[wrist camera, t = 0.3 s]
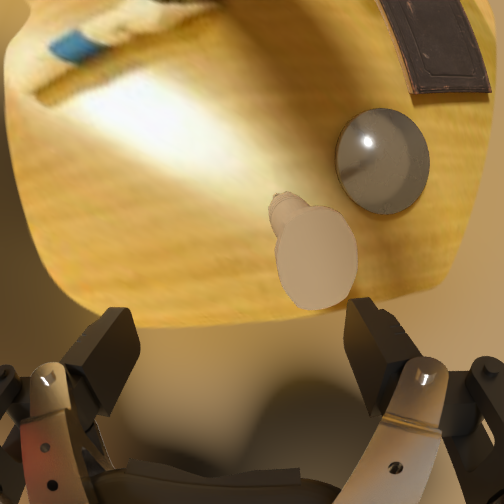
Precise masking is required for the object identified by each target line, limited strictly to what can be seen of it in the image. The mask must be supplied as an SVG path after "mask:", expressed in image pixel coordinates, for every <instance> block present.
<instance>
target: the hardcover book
mask: <svg viewBox="0 0 504 504" xmlns="http://www.w3.org/2000/svg"><path fill="white" fill-rule="evenodd" d="M375 1H376V3H377V6H378V8H379V10H380V12H381V14H382V17H383V19H384V21H385V24H386V26H387V29H388V31H389V34H390V36H391V39H392V41H393V44H394V47H395V50H396V52H397V55H398V58H399V61H400V64H401V67H402V70H403V74H404V77H405V80H406V84H407V87H408V91H409V93H411V94H424V93H446V92H483V93H492V91H491V87H490V83H489V79H488V75H487V71H486V68H485V65H484V61H483V58H482V55H481V52H480V49H479V46H478V43H477V40H476V38H475V35H474V32H473V30H472V27H471V25H470V22H469V20H468V18H467V15H466V13H465V11H464V9H463V7H462V4H461V2H460V0H375Z"/></svg>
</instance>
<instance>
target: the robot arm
mask: <svg viewBox="0 0 504 504" xmlns="http://www.w3.org/2000/svg"><path fill="white" fill-rule="evenodd" d="M343 339H344V349H345V352H346V354H347V357H348V360H349V362H350V365H351V368H352V370H353V373H354V375H355V378H356V380H357V383H358V386H359V389H360V391H361V394H362V397H363V399H364V402H365V405H366V408H367V410H368V413H369V416H370V417H374V416H379V415H382V419H381V421H380V423H379V425H378V427H377V429H376V431H375V433H374V435H373V437H372V439H371V441H370V443H369V445H368V447H367V449H366V451H365V452H364V454H363V456H362V458H361V459H360V461H359V463H358V465H357V466H356V468H355V470H354V471H353V473H352V475H351V476H350V478H349V479H348V481H347V483H346V484H345V486H344V487H343V489H340V488H338V487H335V486H333V485H331V484H328V483H325V482H321V481H318V480H313V479H307V478H300V469H299V468H290V469H276V470H254V471H249V472H245V473H239V474H234V475H229V476H223V477H216V478H205V477H201V476H198V475H195V474H192V473H189V472H186V471H183V470H180V469H177V468H174V467H171V466H169V465H164V464H158V463H152V462H146V461H141V460H136V459H131V458H130V459H129V462H128V465H127V468H121V469H115V468H114V467H113V465H112V463H111V461H110V459H109V456H108V453H107V451H106V448H105V445H104V442H103V440H102V437H101V434H100V431H99V428H98V425H97V423H96V421H95V420H94V419H95V417H96V415H102V416H107V417H110V414H111V412H112V410H113V408H114V406H115V404H116V402H117V400H118V397H119V396H120V394H121V392H122V389H123V387H124V385H125V383H126V381H127V379H128V377H129V375H130V373H131V371H132V369H133V367H134V365H135V364H136V361H137V360H138V357H139V355H140V341H139V337H138V334H137V331H136V328H135V324H134V321H133V318H132V314H131V312H130V310H129V309H128V308H124V307H109V308H108V309H107V310H106V311H105V313H104V314H103V315H102V316H101V317H100V319H98V320H97V321H95V322H94V323H92V324H91V325H89V326H88V327H87V329H86V330H85V331H84V332H83V333H82V336H80V337H79V338H78V340H77V342H75V343H74V344H73V346H72V347H71V348H70V349H69V351H68V352H67V353H66V354H65V356H64V357H63V358H62V360H61V361H60V362H59V363H56V362H51V363H46V364H43V365H41V366H40V367H38V368H37V369H36V370H35V371H34V372H33V373H32V375H31V377H19V376H18V374H17V373H16V371H15V369H14V367H13V366H11V365H1V366H0V420H1V418H2V416H3V415H4V413H5V412H7V414H8V415H9V416H10V418H11V419H12V420H13V422H14V423H15V425H14V427H13V428H12V430H11V432H10V434H9V435H8V437H7V439H6V441H5V443H4V445H3V446H2V447H1V446H0V504H18V503H19V500H20V497H21V495H22V492H23V490H24V487H25V485H26V488H27V494H28V499H29V503H30V504H418V503H419V501H420V498H421V496H422V493H423V491H424V488H425V486H426V483H427V480H428V478H429V475H430V472H431V469H432V467H433V463H434V460H435V457H436V454H437V451H438V447H439V444H440V440H441V437H442V439H443V441H444V444H445V446H446V448H447V451H448V453H449V456H450V458H451V461H452V464H453V466H454V469H455V472H456V475H457V478H458V480H459V483H460V486H461V489H462V492H463V495H464V498H465V502H466V504H504V363H502V362H501V361H500V360H498V359H496V358H494V357H490V356H482V357H479V358H477V359H476V360H475V361H474V362H473V364H472V366H471V368H470V370H469V371H448V370H447V368H446V367H445V365H444V364H443V363H441V362H440V361H438V360H436V359H434V358H431V357H424V356H422V354H421V353H420V351H419V350H418V349H417V347H416V346H415V344H414V343H413V341H412V340H411V339H410V337H409V336H408V334H407V333H405V330H404V329H403V327H402V326H400V323H399V322H398V321H397V319H396V318H395V317H394V315H392V314H390V313H389V312H387V311H386V310H384V309H380V310H378V308H377V307H376V306H375V304H374V303H373V301H372V300H371V299H370V298H369V297H365V298H356V299H349V300H348V303H347V310H346V319H345V328H344V337H343ZM484 418H485V420H486V422H487V424H488V426H489V428H490V430H491V431H492V433H493V435H494V439H495V444H494V446H493V444H492V442H491V440H490V438H489V436H488V434H487V432H486V430H485V428H484V426H483V425H482V423H481V422H482V421H483V420H484Z"/></svg>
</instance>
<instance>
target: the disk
mask: <svg viewBox="0 0 504 504" xmlns="http://www.w3.org/2000/svg"><path fill="white" fill-rule="evenodd" d="M429 166H430V160H429V151H428V147H427V144H426V141H425V139H424V137H423V135H422V133H421V131H420V130H419V128H418V127H417V126H416V124H415V123H414V122H413V121H412V120H411V119H409V118H408V117H407V116H405V115H404V114H402V113H400V112H398V111H395V110H391V109H385V108H379V109H372V110H367V111H364V112H362V113H360V114H358V115H356V116H355V117H353V118H352V119H351V120H350V121H349V122H348V123H347V124H346V126H345V127H344V128H343V130H342V132H341V134H340V136H339V138H338V141H337V145H336V150H335V167H336V172H337V176H338V179H339V182H340V184H341V186H342V188H343V189H344V191H345V192H346V194H347V195H348V196H349V197H350V198H351V199H352V200H353V201H354V202H355V203H357V204H358V205H359V206H361V207H363V208H364V209H366V210H368V211H370V212H373V213H377V214H393V213H397V212H400V211H402V210H404V209H406V208H407V207H409V206H410V205H411V204H413V203H414V202H415V201H416V200H417V198H418V197H419V196H420V194H421V193H422V191H423V189H424V187H425V185H426V182H427V179H428V174H429Z"/></svg>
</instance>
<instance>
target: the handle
mask: <svg viewBox="0 0 504 504" xmlns="http://www.w3.org/2000/svg"><path fill="white" fill-rule="evenodd" d="M269 218H270V223H271V226H272V229H273V231H274V233H275V235H276V237H277V242H276V246H275V258H276V264H277V269H278V274H279V278H280V282H281V284H282V287H283V289H284V290H285V292H286V293H287V295H288V296H289V297H290V299H291V300H292V301H293V302H294V303H295V305H296V306H297V307H298V308H302V309H306V310H319V309H324V308H328V307H331V306H333V305H336V304H338V303H339V302H341V301H342V300H343V299H345V298H346V297H347V296H348V294H349V292H350V289H351V287H352V285H353V282H354V280H355V277H356V274H357V270H358V254H357V244H356V239H355V237H354V234H353V232H352V231H351V229H350V227H349V225H348V224H347V222H346V221H345V219H344V217H343V216H342V215H341V214H340V213H339V212H338V211H336V210H334V209H331V208H329V207H325V206H309V205H308V204H307V203H306V202H305V201H304V200H303V199H302V198H300V197H299V196H297V195H294V194H292V193H291V192H287V191H286V192H285V193H282V194H277V193H276V194H275V195H273V200H272V202H271V204H270V205H269Z"/></svg>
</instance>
